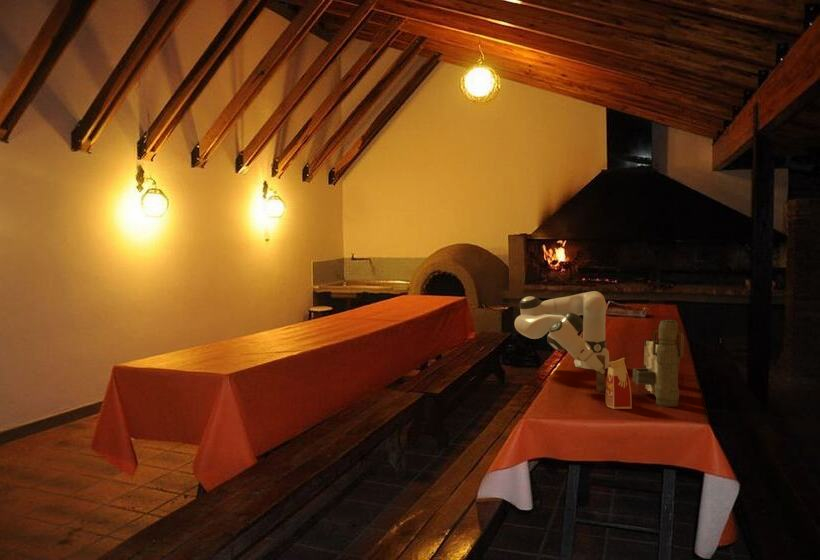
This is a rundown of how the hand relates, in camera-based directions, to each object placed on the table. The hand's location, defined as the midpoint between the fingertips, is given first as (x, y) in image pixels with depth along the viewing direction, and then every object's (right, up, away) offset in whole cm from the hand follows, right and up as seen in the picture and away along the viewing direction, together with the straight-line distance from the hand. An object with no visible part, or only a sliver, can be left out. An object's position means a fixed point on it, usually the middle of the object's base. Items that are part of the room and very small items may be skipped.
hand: (602, 371), depth 286 cm
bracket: (+17, -9, -5) cm, 20 cm away
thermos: (+21, -11, -21) cm, 31 cm away
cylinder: (0, -9, +1) cm, 9 cm away
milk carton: (0, -11, -22) cm, 25 cm away
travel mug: (+27, -7, +13) cm, 31 cm away
